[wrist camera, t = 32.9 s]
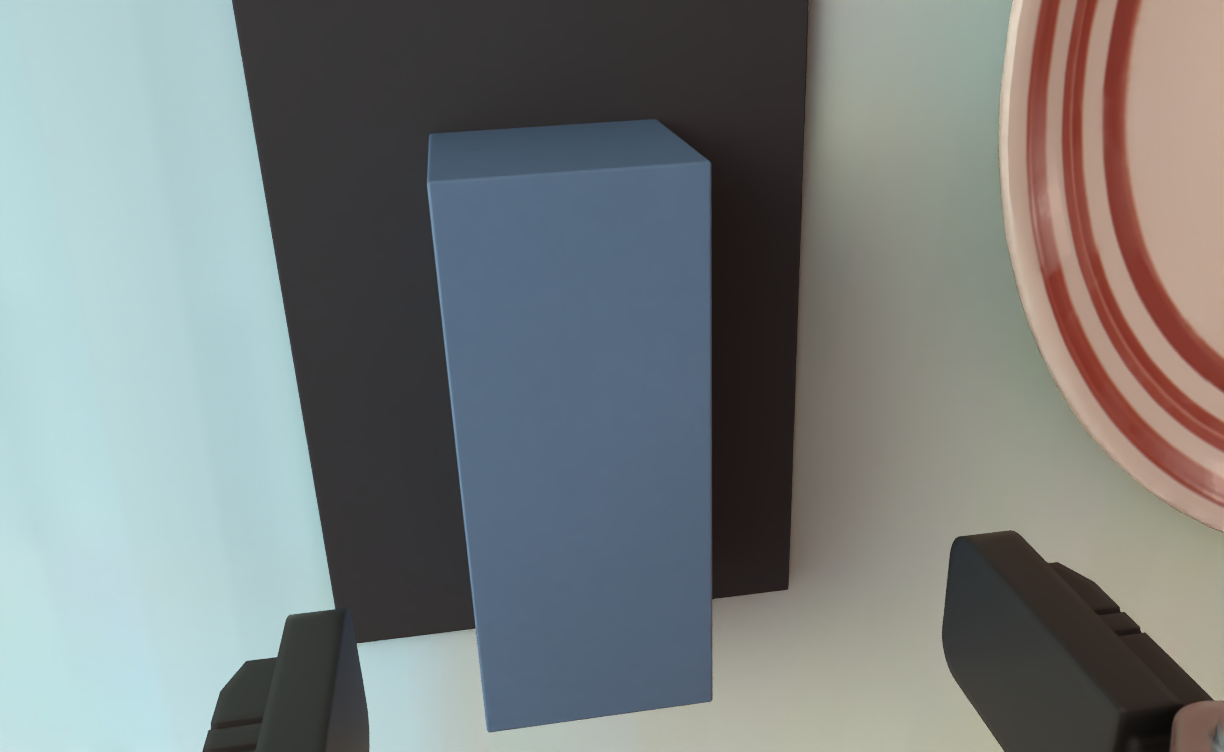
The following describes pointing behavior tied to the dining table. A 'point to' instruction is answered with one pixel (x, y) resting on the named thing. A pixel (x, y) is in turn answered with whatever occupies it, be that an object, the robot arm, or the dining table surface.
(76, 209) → the dining table surface
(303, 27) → the mat
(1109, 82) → the dinner plate
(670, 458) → the blue block
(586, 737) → the dining table surface
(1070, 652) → the robot arm
